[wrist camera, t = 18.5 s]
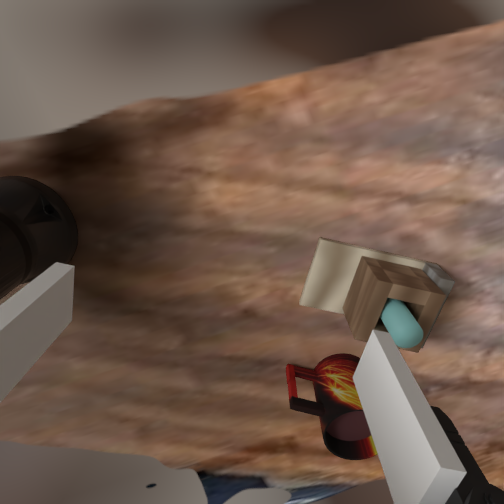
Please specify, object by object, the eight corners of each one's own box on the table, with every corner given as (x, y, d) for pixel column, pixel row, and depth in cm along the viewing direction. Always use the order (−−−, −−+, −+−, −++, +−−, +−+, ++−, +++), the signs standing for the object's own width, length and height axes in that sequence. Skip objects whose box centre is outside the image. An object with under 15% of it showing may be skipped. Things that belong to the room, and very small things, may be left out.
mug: (284, 359, 62) (289, 415, 50) (368, 350, 60) (392, 405, 49) (291, 403, 65) (297, 465, 54) (370, 395, 64) (392, 457, 53)
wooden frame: (299, 301, 57) (303, 322, 52) (319, 237, 53) (326, 252, 48) (408, 325, 58) (423, 348, 53) (436, 263, 54) (456, 281, 49)
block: (342, 308, 56) (354, 339, 49) (361, 255, 53) (378, 280, 46) (397, 320, 57) (418, 352, 49) (420, 268, 54) (446, 295, 46)
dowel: (363, 296, 56) (388, 344, 44) (371, 275, 54) (399, 320, 43) (385, 301, 56) (416, 350, 45) (394, 280, 54) (428, 326, 43)
